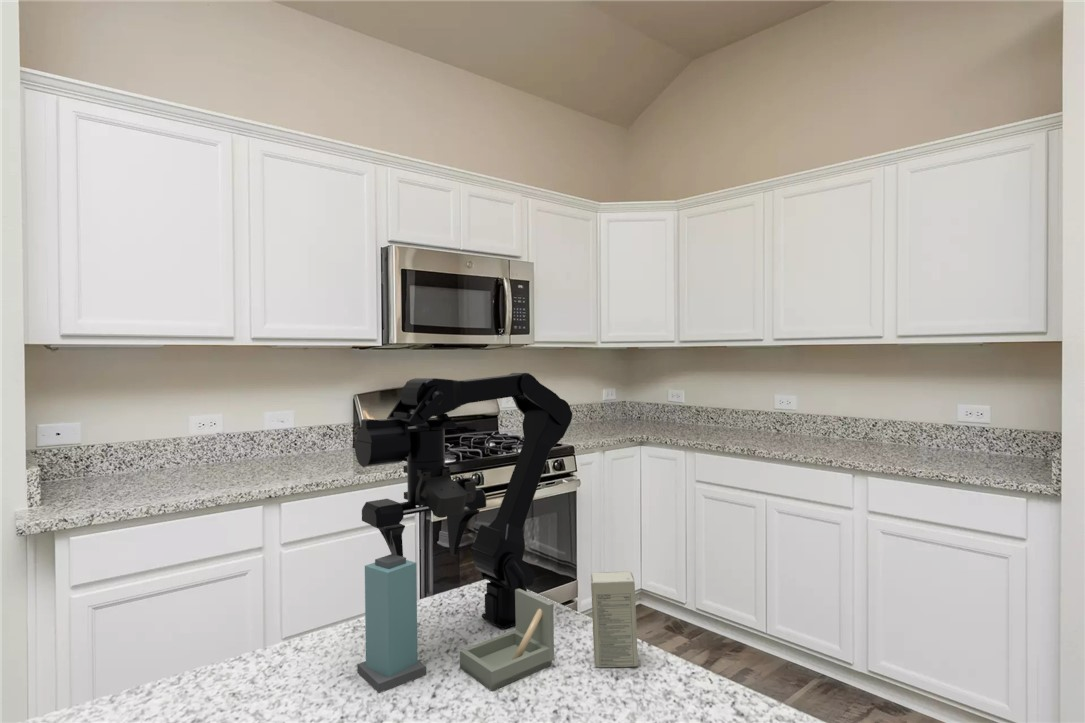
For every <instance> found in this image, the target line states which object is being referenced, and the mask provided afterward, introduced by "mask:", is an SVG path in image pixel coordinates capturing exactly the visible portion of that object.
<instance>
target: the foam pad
mask: <svg viewBox="0 0 1085 723" xmlns="http://www.w3.org/2000/svg"><path fill="white" fill-rule="evenodd" d="M356 665H357V667H356V668H357V674H358V675H359V676H360V677H362V679H364V680H365V681H366V683H368V685H369V686H371V687H372V688H373V689H374V690H375V691H376V692H377V693H379V694H380V693H383V692H386V691H388V690H390V689H393V688H396V687H398V686H400V685H404V684H406V683H408V682H409V683H410V682H411V681H414V680H416V679H419V678H422V677H424V676H427V665H426V664H425V663H423V662H422V661H420V660H419V659H418V662H417V663H416V664H414V665H412V666H410V667H408V668H406V669H404V670H402V671H400V672H398V673H396V674H395V675H393V676H391V677H387V676H385V675H383V674H381V673H378V672H376V671H374V670H372V669H370V668H368V667H366V660H365V661H363V662H362V661H361V662H360V663H357V664H356Z"/></svg>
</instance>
